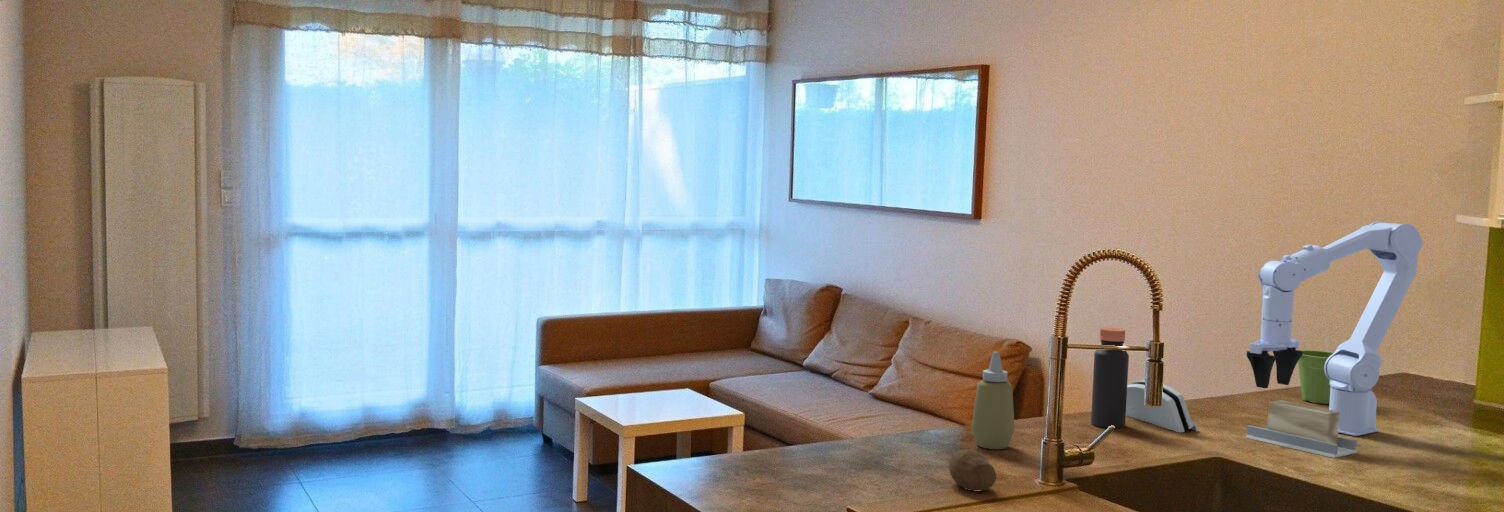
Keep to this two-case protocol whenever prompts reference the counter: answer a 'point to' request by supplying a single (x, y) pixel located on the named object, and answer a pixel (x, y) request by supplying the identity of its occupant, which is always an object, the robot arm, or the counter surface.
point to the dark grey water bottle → (1110, 381)
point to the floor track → (1303, 442)
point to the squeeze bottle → (993, 408)
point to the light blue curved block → (1159, 408)
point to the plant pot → (1314, 376)
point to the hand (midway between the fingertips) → (1272, 385)
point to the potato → (972, 470)
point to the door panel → (1304, 421)
